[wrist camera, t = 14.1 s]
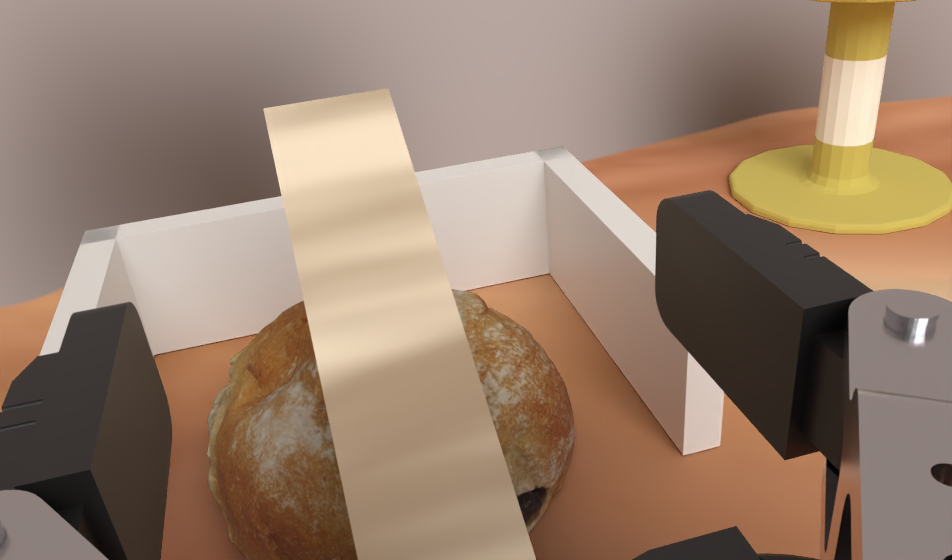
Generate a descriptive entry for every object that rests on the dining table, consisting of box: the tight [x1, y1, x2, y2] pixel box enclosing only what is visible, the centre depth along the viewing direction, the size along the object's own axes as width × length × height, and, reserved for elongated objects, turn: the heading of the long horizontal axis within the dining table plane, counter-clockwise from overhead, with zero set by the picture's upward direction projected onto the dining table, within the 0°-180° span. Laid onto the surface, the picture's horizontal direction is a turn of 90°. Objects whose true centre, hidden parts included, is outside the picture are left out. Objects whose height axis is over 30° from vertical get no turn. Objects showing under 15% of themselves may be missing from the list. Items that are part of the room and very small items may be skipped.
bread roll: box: [207, 289, 574, 560], centre depth 24 cm, size 10×10×8 cm
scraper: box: [264, 88, 536, 560], centre depth 17 cm, size 3×12×18 cm
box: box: [40, 147, 724, 455], centre depth 27 cm, size 13×18×5 cm
